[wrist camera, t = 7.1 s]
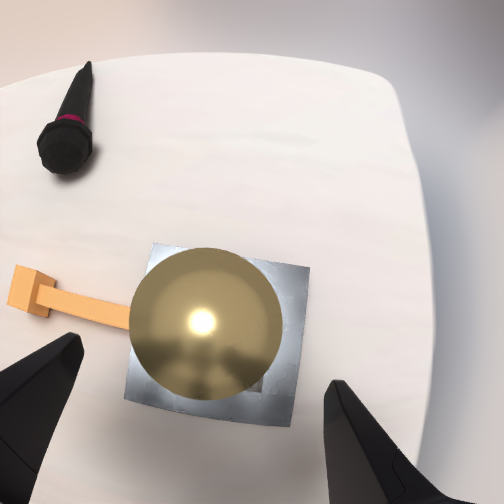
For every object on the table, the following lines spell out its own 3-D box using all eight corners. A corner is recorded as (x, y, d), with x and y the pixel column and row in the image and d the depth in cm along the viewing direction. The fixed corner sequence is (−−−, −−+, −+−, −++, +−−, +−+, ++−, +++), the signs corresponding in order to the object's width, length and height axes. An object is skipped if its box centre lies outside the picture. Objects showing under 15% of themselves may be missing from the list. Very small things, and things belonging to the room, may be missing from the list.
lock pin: (146, 345, 20) (133, 344, 17) (27, 310, 20) (6, 304, 17) (154, 302, 21) (143, 295, 18) (35, 274, 21) (16, 264, 18)
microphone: (84, 86, 32) (60, 194, 24) (62, 60, 27) (20, 164, 19) (116, 66, 32) (102, 168, 23) (94, 37, 26) (61, 131, 18)
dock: (283, 420, 19) (289, 427, 17) (133, 394, 19) (124, 398, 17) (302, 275, 23) (309, 267, 21) (159, 252, 22) (153, 242, 20)
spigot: (245, 374, 20) (271, 410, 8) (181, 364, 20) (118, 381, 8) (255, 312, 22) (290, 260, 9) (192, 302, 22) (146, 237, 9)
